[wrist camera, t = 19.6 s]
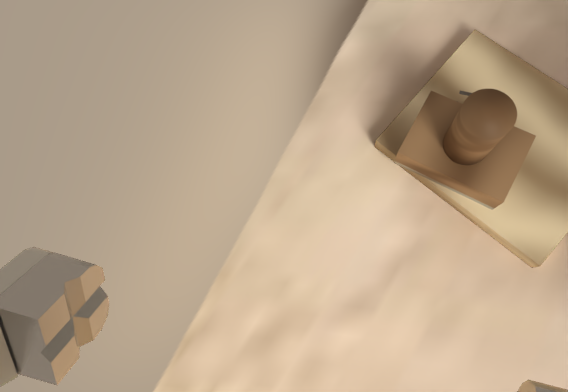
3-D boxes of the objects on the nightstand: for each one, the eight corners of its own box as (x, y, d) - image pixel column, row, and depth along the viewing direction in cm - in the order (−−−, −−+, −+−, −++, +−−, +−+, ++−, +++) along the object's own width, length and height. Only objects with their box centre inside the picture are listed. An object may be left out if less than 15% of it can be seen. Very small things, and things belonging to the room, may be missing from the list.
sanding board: (470, 39, 39) (474, 29, 38) (632, 145, 35) (644, 138, 34) (374, 146, 38) (375, 140, 36) (532, 267, 34) (540, 265, 33)
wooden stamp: (394, 162, 36) (407, 122, 28) (425, 104, 37) (447, 50, 29) (492, 209, 34) (535, 181, 26) (522, 147, 35) (573, 102, 27)
